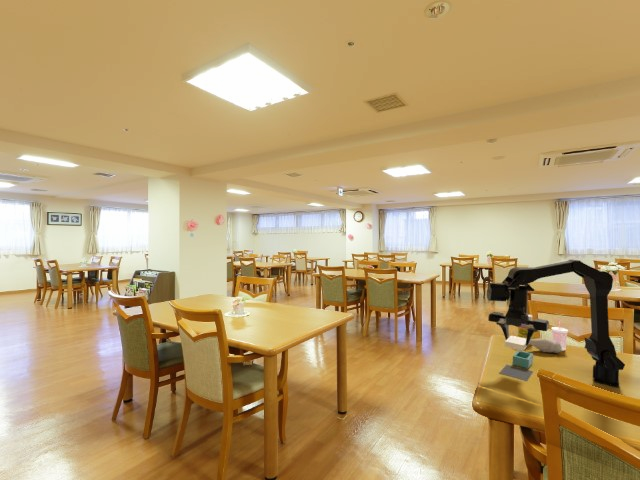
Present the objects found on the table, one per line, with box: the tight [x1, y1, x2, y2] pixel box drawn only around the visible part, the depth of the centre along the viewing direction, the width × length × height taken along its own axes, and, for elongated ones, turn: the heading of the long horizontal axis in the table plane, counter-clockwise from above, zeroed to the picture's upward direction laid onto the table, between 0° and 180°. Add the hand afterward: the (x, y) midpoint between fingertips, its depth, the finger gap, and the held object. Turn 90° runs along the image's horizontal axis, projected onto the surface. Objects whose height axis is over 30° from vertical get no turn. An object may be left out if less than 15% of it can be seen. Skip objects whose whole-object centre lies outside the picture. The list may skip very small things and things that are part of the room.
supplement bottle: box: [517, 314, 535, 340], centre depth 157 cm, size 7×7×13 cm
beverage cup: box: [551, 317, 569, 351], centre depth 148 cm, size 6×6×14 cm
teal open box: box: [512, 350, 534, 370], centre depth 130 cm, size 5×8×4 cm, turn 137°
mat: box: [498, 364, 534, 382], centre depth 122 cm, size 9×11×1 cm
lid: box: [504, 335, 530, 352], centre depth 122 cm, size 6×9×2 cm, turn 137°
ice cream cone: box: [529, 337, 562, 354], centre depth 144 cm, size 6×6×15 cm
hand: (517, 343), depth 122 cm, fingers closed on lid, 6 cm apart
